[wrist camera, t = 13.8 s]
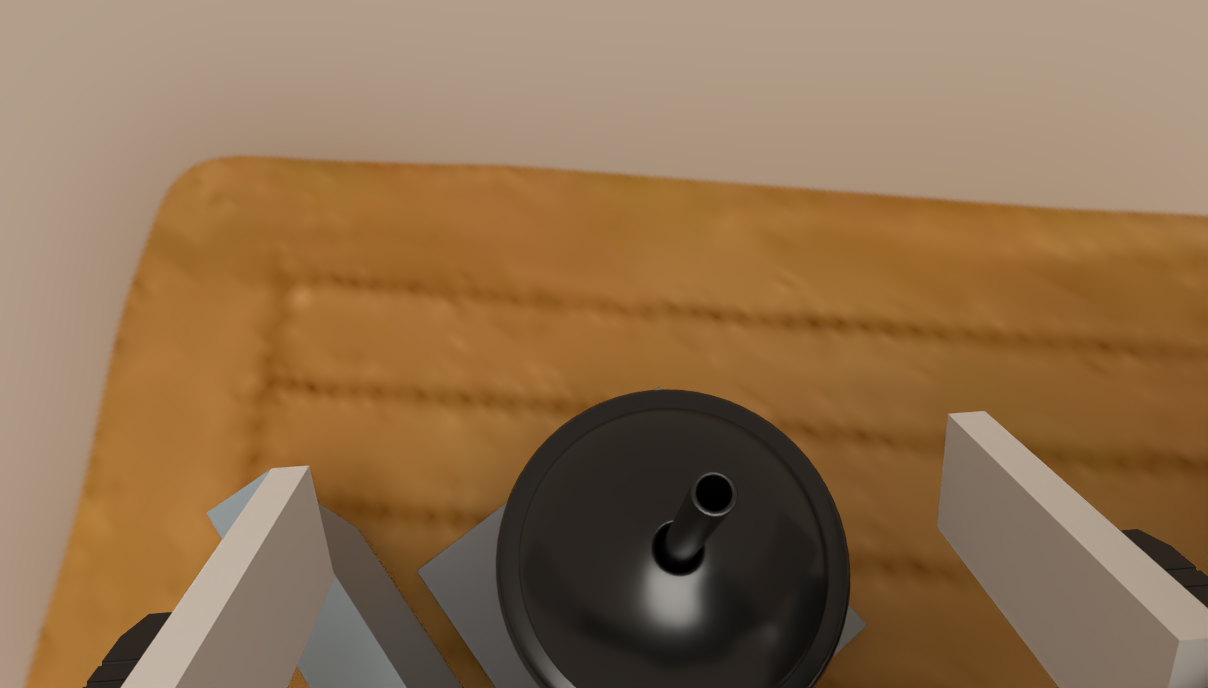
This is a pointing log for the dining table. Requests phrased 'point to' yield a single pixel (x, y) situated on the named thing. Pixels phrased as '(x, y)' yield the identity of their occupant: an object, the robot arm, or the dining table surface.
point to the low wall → (357, 616)
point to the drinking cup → (672, 551)
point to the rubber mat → (474, 607)
